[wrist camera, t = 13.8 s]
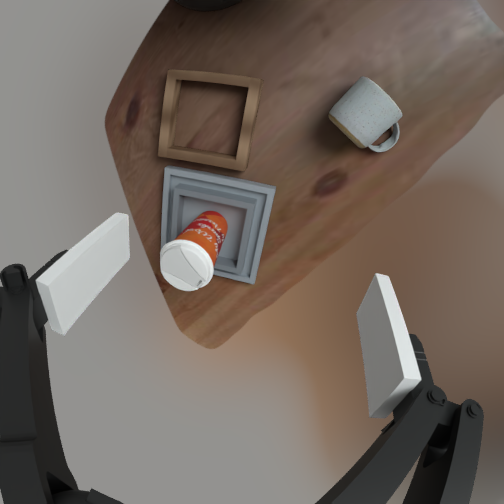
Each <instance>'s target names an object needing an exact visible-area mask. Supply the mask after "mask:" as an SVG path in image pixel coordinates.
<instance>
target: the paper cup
mask: <svg viewBox="0 0 504 504" xmlns="http://www.w3.org/2000/svg"><path fill="white" fill-rule="evenodd" d="M227 230H228V225H227V221H226V219H225V218H224V217H223V216H222V215H221V214H220V213H218V212H215V211H205V212H203V213H201V214H200V215H199V216H198V217H197V218H196V219H195V220H194V221H193V222H192V223H191V224H189V225H188V226H187V227H186V228H185V229H184V230H183V231H182V232H181V233H180V234H179V235H178V236H177V238H176V239H175V240H174V241H171V242H169V243H166V244H165V245H164V246H163V248H162V249H161V252H160V267H161V272H162V274H163V276H164V278H165V279H166V280H167V281H168V282H169V283H170V284H171V285H172V286H174V287H176V288H178V289H180V290H184V291H194V290H197V289H199V288H201V287H203V286H205V285H206V284H208V283H209V281H210V280H211V278H212V276H213V271H214V266H215V263H216V260H217V257H218V255H219V252H220V250H221V247H222V244H223V242H224V239H225V237H226V234H227Z"/></svg>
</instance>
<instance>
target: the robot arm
mask: <svg viewBox="0 0 504 504" xmlns="http://www.w3.org/2000/svg"><path fill="white" fill-rule="evenodd" d="M174 1H175V2H177V3H179V4H180V5H182V6H184V7H186V8H188V9H192V10H196V11H214V10H220V9H223V8H227V7H229V6H232V5H234V4H236V3H238V2H240V1H241V0H174ZM129 251H130V250H129V219H128V215H127V214H122V213H118V212H117V213H115V214H114V215H113V216H111V217H110V218H109V219H107V220H106V221H105V222H103V223H102V224H101V225H100V226H99V227H97V228H96V229H95V230H93V231H92V232H91V233H90V234H88V235H87V236H86V237H85V238H83V239H82V240H81V241H80V242H79V243H77V244H76V245H75V246H74V247H73V248H71V249H70V250H65V251H62V252H60V253H58V254H57V255H56V256H54V257H53V258H52V259H51V260H50V261H49V262H47V263H46V264H45V266H43V267H42V268H40V269H39V270H38V271H37V272H36V273H35V274H34V275H33V276H32V277H31V278H30V279H28V276H27V272H26V268H25V267H24V266H23V265H21V264H12V265H9V266H7V267H5V268H4V269H3V270H2V271H1V273H0V279H1V282H2V285H3V287H0V489H1V493H2V498H3V501H4V504H123V503H121V502H120V501H117V500H115V499H113V498H110V497H108V496H106V495H104V494H102V493H100V492H98V491H96V490H94V489H91V490H90V492H89V491H81V490H79V489H78V487H77V484H76V481H75V479H74V477H73V475H72V473H71V472H70V470H69V468H68V466H67V463H66V459H65V456H64V452H63V448H62V444H61V440H60V436H59V431H58V427H57V421H56V416H55V412H54V405H53V399H52V393H51V386H50V378H49V370H48V359H47V348H46V331H45V327H44V324H45V323H46V322H47V321H49V324H50V327H51V329H52V330H53V331H55V332H57V333H59V334H61V335H65V333H66V332H67V331H68V330H69V328H70V327H71V326H72V325H73V324H74V322H75V321H76V320H77V318H78V317H79V316H80V315H81V314H82V313H83V311H84V310H85V309H86V308H87V307H88V305H89V304H90V303H91V302H92V301H93V299H94V298H95V297H96V296H97V295H98V294H99V292H100V291H101V290H102V289H103V288H104V287H105V286H106V284H107V283H108V282H109V281H110V280H111V279H112V278H113V276H114V275H115V274H116V273H117V272H118V271H119V270H120V269H121V267H122V266H123V265H124V264H125V263H126V262H127V261H128V260H129V259H130V252H129ZM356 314H357V320H358V327H359V333H360V339H361V346H362V354H363V361H364V369H365V377H366V386H367V395H368V406H369V417H371V418H372V417H373V418H386V417H387V416H388V415H389V414H390V413H391V412H392V411H393V416H394V419H393V420H392V421H391V422H390V423H389V424H388V425H387V426H386V427H385V428H384V429H382V430H381V431H382V433H381V435H380V436H379V437H378V438H377V439H376V441H375V442H374V443H373V444H372V445H371V447H370V448H369V449H368V450H367V451H366V452H365V454H364V455H363V456H362V457H361V458H360V459H359V460H358V461H357V462H356V464H355V465H354V466H353V467H352V468H351V469H350V470H349V471H348V472H347V473H346V474H345V475H344V476H343V477H342V479H340V480H339V482H338V483H336V484H335V485H334V486H333V487H332V488H331V489H330V490H329V491H328V492H327V493H326V494H325V495H324V496H323V497H322V498H321V499H320V500H319V501H317V503H315V504H386V503H387V501H388V500H389V499H390V497H391V496H392V495H393V494H394V492H395V491H396V489H397V488H398V487H399V485H400V484H401V483H402V481H403V480H404V478H405V477H406V475H407V474H408V472H409V471H410V470H411V468H412V467H413V465H414V463H415V462H416V460H417V459H418V457H419V456H420V458H419V461H418V465H417V467H416V470H415V473H414V476H413V479H412V481H411V484H410V487H409V489H408V491H407V494H406V496H405V499H404V501H403V504H469V501H470V497H471V493H472V489H473V485H474V480H475V475H476V470H477V465H478V458H479V452H480V446H481V438H482V429H483V418H484V415H483V410H482V408H481V406H480V405H479V404H478V403H477V402H476V401H474V400H472V399H467V400H465V401H464V402H463V403H462V404H461V405H458V404H455V403H453V402H450V401H447V397H446V395H445V393H444V392H443V391H442V389H441V388H439V387H437V386H435V385H434V383H433V379H432V376H431V372H430V369H429V366H428V362H427V361H426V356H425V354H424V349H423V346H422V343H421V342H420V341H419V339H418V338H417V336H416V335H414V334H408V331H407V328H406V325H405V322H404V319H403V315H402V313H401V310H400V307H399V304H398V301H397V298H396V295H395V293H394V290H393V287H392V284H391V282H390V279H389V276H386V275H382V274H377V273H376V274H375V275H374V278H373V280H372V282H371V284H370V286H369V288H368V291H367V293H366V295H365V297H364V299H363V301H362V303H361V305H360V307H359V309H358V311H357V313H356ZM420 454H421V455H420Z"/></svg>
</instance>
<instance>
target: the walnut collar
mask: <svg viewBox="0 0 504 504" xmlns="http://www.w3.org/2000/svg"><path fill="white" fill-rule="evenodd" d="M182 80H191V81H202V82H212V83H221V84H229V85H236V86H243V87H249V89H248V95H247V100H246V106H245V111H244V117H243V122H242V128H241V133H240V139H239V145H238V151H237V156H233V155H228V154H222V153H217V152H211V151H205V150H199V149H193V148H186V147H180V146H174V136H175V128H176V119H177V112H178V104H179V97H180V90H181V83H182ZM263 81H264V80H262V79H257V78H251V77H244V76H237V75H229V74H221V73H212V72H201V71H188V70H169V69H168V73H167V80H166V87H165V94H164V102H163V110H162V118H161V128H160V138H159V149H158V156H159V157H166V158H172V159H179V160H185V161H190V162H196V163H202V164H207V165H213V166H218V167H223V168H229V169H234V170H239V171H243V172H244V171H245V170H246V169H247V166H248V160H249V155H250V149H251V144H252V139H253V133H254V128H255V123H256V117H257V112H258V107H259V102H260V96H261V91H262V86H263Z"/></svg>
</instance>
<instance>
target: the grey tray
mask: <svg viewBox="0 0 504 504" xmlns="http://www.w3.org/2000/svg"><path fill="white" fill-rule="evenodd" d="M275 190H276V186H271V185H267V184H262V183H258V182H253V181H249V180H244V179H239V178H234V177H229V176H224V175H219V174H214V173H209V172H204V171H198V170H193V169H187V168H181V167H175V166H167V167H165V172H164V186H163V203H162V226H161V249H162V248H163V246H164V245H165V244H166V243H169V242H171V241H174V240H175V239H176V238H177V236H178V235H179V234H180V233H181V232H182V231H183V230H184V229H185V228H186V227H187V226H188V225H189V224H191V223H192V222H193V221H194V220H195V219H196V218H197V217H198V216H199V215H200V214H201V213H203V212H205V211H215V212H218V213H220V214H221V215H222V216H223V217H224V218H225V219H226V221H227V225H228V230H227V234H226V237H225V239H224V242H223V244H222V247H221V250H220V252H219V255H218V257H217V260H216V263H215V266H214V271H213V274H214V275H218V276H222V277H226V278H230V279H234V280H238V281H242V282H246V283H250V284H254V283H255V279H256V275H257V270H258V266H259V262H260V257H261V253H262V248H263V244H264V239H265V235H266V230H267V226H268V222H269V217H270V213H271V208H272V203H273V199H274V194H275Z"/></svg>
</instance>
